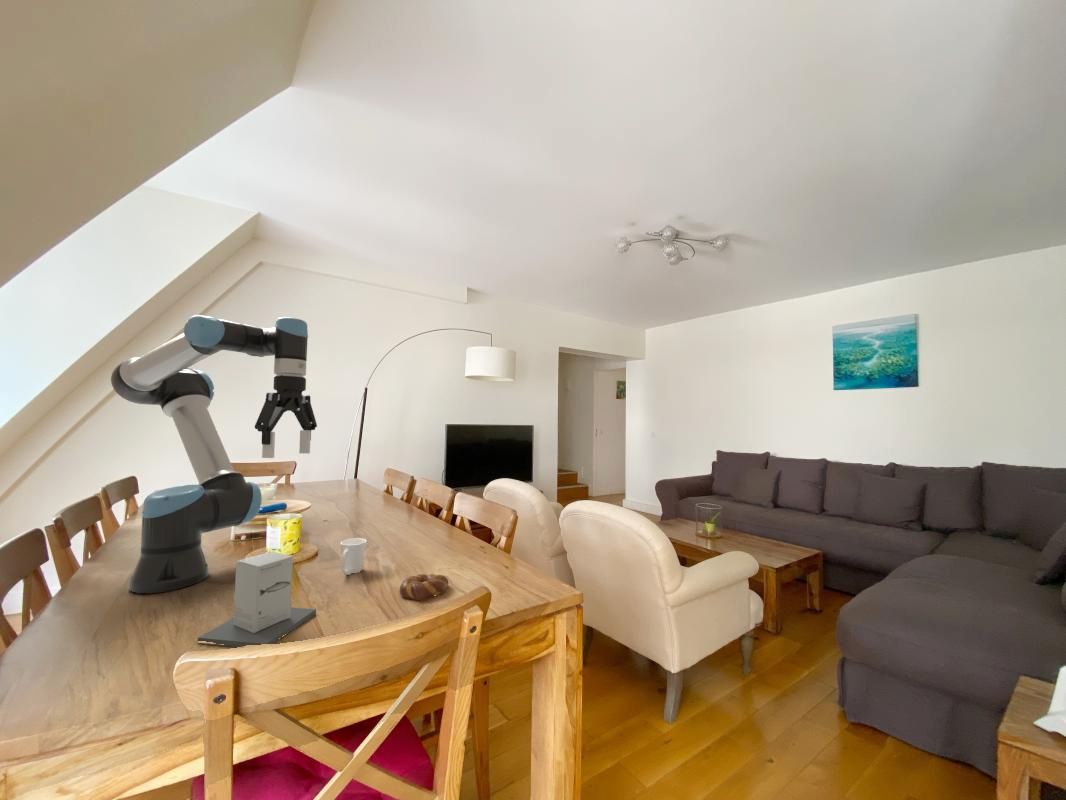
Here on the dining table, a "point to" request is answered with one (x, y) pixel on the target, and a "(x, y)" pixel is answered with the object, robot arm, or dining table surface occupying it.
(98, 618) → the dining table surface
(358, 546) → the cup
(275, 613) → the supplement box
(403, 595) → the pretzel
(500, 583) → the dining table surface
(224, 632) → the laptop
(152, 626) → the dining table surface
